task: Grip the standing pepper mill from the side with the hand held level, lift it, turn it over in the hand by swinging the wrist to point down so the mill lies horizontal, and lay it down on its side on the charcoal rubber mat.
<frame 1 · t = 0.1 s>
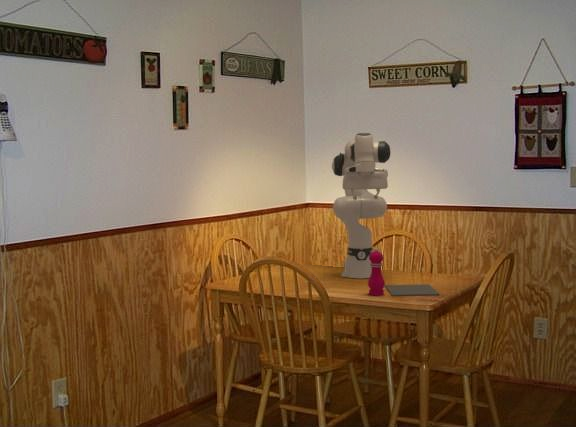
hand: (365, 199, 354), 39 cm above the table, tool pointing down, fingers open, 8 cm apart
mat: (411, 290, 343), on the table
pepper mill: (376, 294, 337), on the table
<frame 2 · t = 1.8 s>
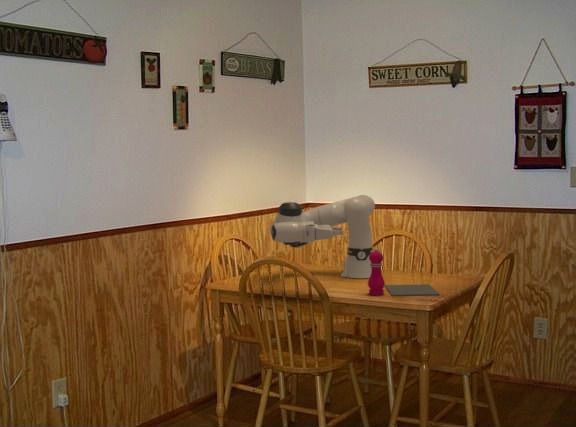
hand: (342, 231, 334), 27 cm above the table, tool horizontal, fingers open, 8 cm apart
nothing on the table moved.
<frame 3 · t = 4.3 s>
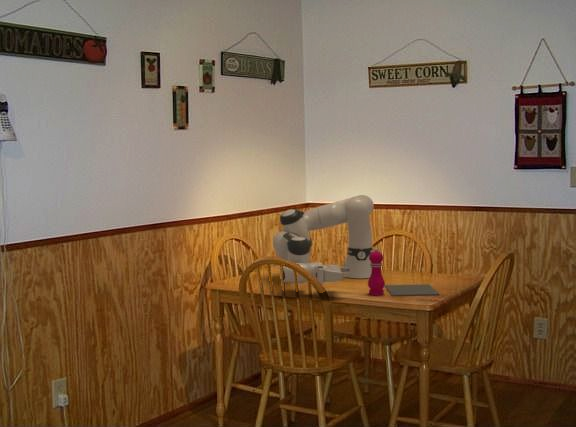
hand: (351, 272, 335), 10 cm above the table, tool horizontal, fingers open, 8 cm apart
nothing on the table moved.
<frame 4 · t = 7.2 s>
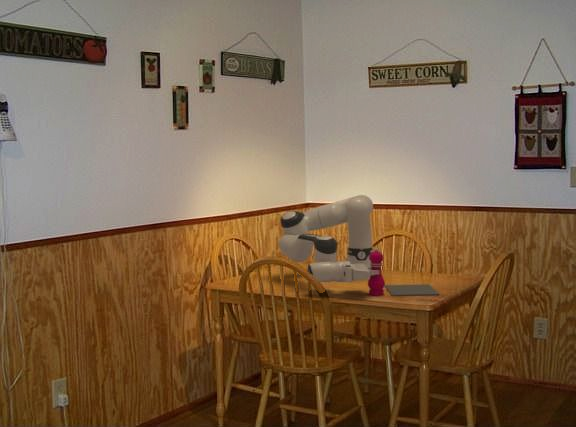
hand: (378, 270, 336), 10 cm above the table, tool horizontal, fingers closed on pepper mill, 4 cm apart
pepper mill: (376, 294, 337), on the table, touching gripper
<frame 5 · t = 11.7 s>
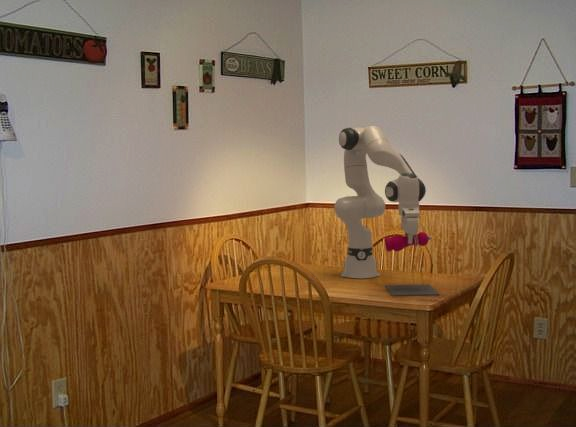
hand: (408, 242, 341), 21 cm above the table, tool pointing down, fingers closed on pepper mill, 4 cm apart
pepper mill: (385, 244, 341), point 20 cm above the table, touching gripper
when the fingers open (5 cm above the table, at t = 15.1 s): pepper mill stays where it is, resting on mat.
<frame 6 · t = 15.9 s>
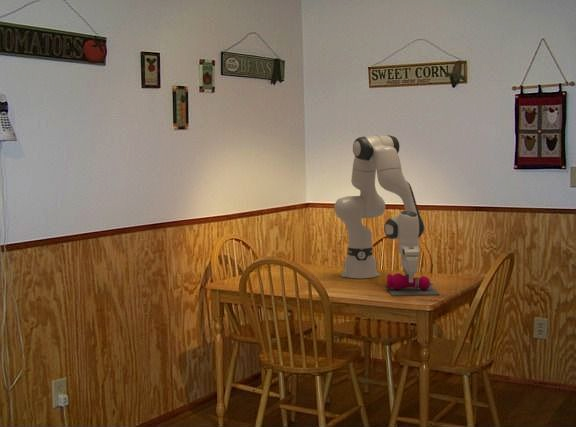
hand: (408, 280, 343), 5 cm above the table, tool pointing down, fingers open, 8 cm apart
pepper mill: (386, 281, 343), point 4 cm above the table, touching mat
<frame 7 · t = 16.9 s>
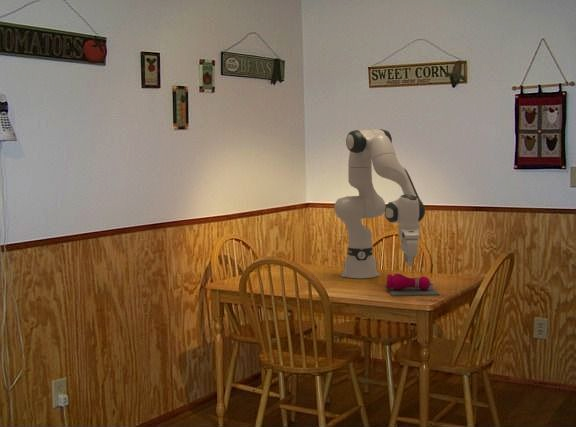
hand: (408, 264, 342), 12 cm above the table, tool pointing down, fingers open, 8 cm apart
nothing on the table moved.
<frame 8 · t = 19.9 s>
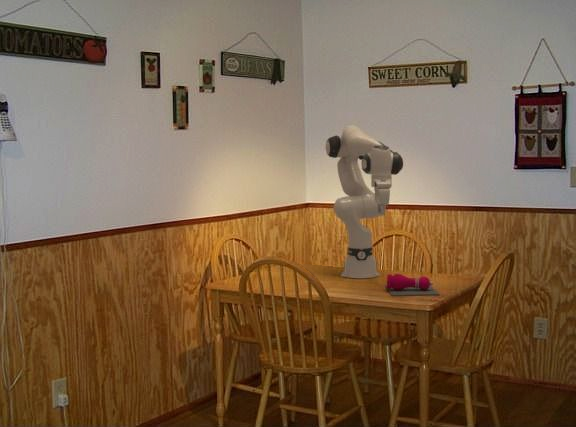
hand: (381, 214, 346), 33 cm above the table, tool pointing down, fingers open, 8 cm apart
nothing on the table moved.
at the end: pepper mill tilted 93°; pepper mill touching mat; pepper mill inside the target area (7.9 cm from its centre), point 4.4 cm above the table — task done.
